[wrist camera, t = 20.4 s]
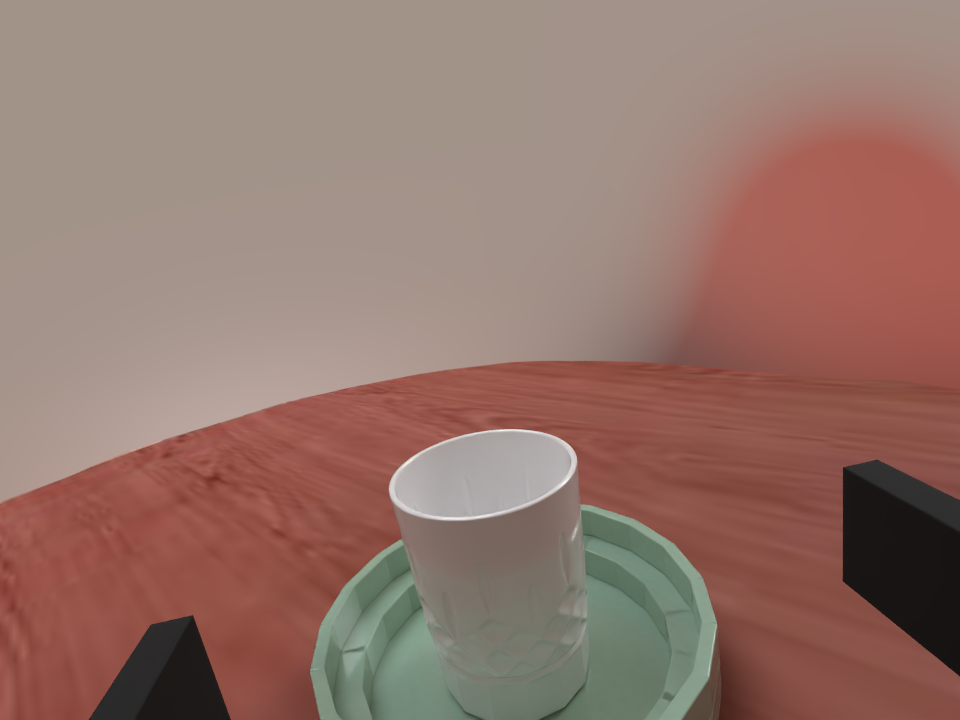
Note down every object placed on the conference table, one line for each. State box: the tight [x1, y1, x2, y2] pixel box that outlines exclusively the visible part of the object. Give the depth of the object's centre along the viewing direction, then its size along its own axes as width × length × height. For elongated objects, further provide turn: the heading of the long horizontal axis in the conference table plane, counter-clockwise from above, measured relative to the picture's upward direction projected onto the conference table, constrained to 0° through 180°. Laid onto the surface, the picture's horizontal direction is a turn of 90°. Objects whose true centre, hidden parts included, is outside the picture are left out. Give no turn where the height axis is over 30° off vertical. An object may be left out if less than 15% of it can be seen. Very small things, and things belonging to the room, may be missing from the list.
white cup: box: [389, 429, 590, 720], centre depth 24 cm, size 8×8×10 cm
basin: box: [310, 504, 722, 720], centre depth 25 cm, size 17×17×4 cm
